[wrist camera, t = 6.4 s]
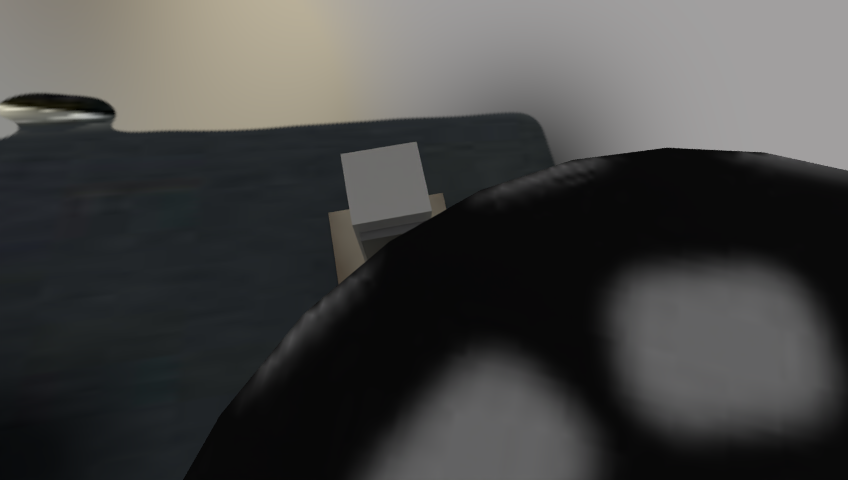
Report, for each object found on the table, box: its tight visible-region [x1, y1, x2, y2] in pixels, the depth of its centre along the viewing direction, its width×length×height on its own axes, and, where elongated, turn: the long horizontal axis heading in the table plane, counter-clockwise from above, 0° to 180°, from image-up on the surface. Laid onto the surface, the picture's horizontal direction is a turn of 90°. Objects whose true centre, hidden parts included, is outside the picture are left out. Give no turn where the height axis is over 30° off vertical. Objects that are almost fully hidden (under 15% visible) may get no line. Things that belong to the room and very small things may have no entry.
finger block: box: [341, 142, 432, 262], centre depth 33 cm, size 5×6×10 cm
